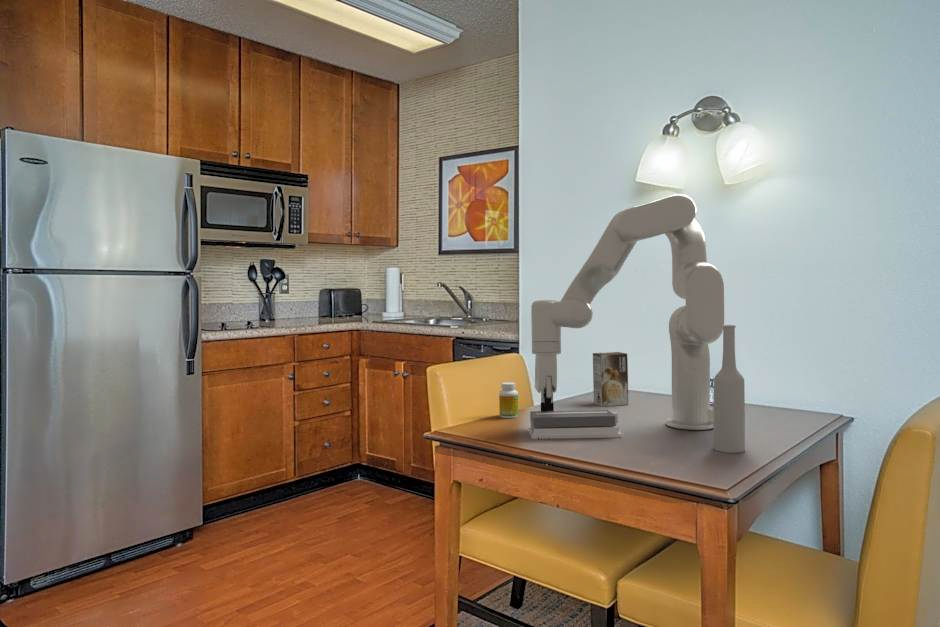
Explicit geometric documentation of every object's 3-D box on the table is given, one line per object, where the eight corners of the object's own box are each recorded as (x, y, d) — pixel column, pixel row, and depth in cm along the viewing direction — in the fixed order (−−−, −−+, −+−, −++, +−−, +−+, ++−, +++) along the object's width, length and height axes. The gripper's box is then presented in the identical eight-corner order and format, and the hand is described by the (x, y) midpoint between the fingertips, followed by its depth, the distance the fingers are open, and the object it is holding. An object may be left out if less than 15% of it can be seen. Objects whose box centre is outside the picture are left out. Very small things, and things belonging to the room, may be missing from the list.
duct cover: (614, 418, 168) (614, 408, 168) (621, 425, 160) (621, 415, 160) (530, 420, 168) (530, 410, 168) (533, 427, 160) (533, 416, 160)
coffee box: (619, 401, 208) (619, 351, 207) (629, 405, 201) (628, 353, 201) (592, 403, 205) (592, 352, 205) (601, 407, 199) (601, 354, 199)
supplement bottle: (517, 418, 184) (516, 384, 184) (498, 418, 185) (497, 384, 185) (519, 415, 189) (519, 381, 189) (501, 414, 190) (500, 381, 190)
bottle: (732, 444, 151) (732, 324, 149) (751, 451, 144) (751, 325, 143) (707, 447, 149) (707, 324, 148) (725, 454, 143) (725, 326, 141)
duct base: (613, 429, 169) (613, 419, 169) (621, 437, 160) (621, 427, 160) (528, 430, 169) (528, 421, 169) (531, 439, 160) (531, 429, 160)
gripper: (529, 345, 177) (530, 412, 177) (534, 350, 162) (535, 424, 163) (557, 344, 177) (558, 412, 177) (564, 350, 162) (565, 423, 162)
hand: (547, 417), depth 170 cm, fingers closed
